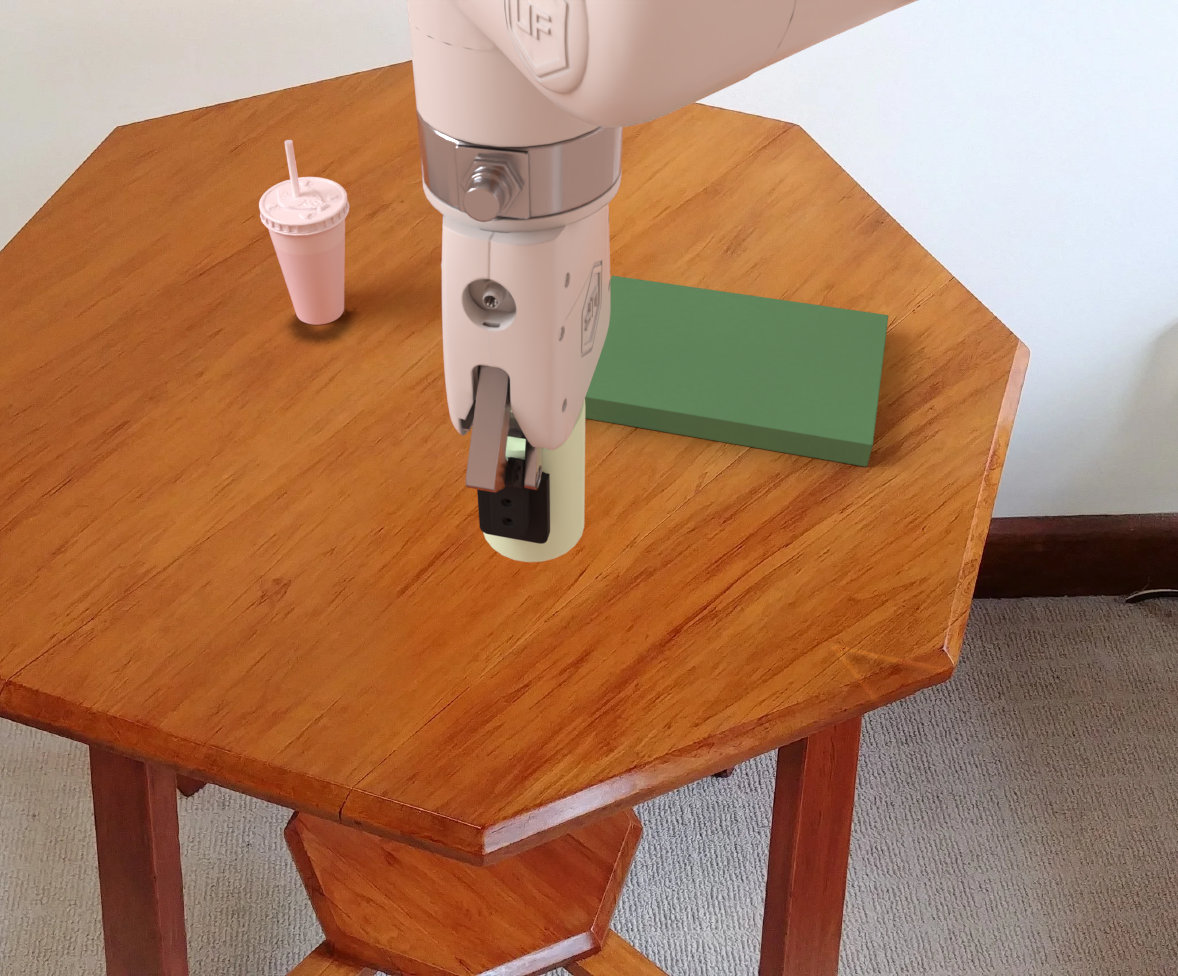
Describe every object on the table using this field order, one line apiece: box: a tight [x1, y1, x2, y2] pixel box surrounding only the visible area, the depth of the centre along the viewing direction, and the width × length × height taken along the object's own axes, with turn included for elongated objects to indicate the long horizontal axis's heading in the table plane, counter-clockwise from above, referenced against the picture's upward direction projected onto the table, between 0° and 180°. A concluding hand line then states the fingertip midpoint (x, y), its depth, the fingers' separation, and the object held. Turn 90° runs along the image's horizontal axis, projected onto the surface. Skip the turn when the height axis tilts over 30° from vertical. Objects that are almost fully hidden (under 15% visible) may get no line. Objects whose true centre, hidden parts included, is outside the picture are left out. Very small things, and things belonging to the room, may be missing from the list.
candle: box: [482, 399, 586, 563], centre depth 58 cm, size 5×5×8 cm
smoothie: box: [258, 139, 350, 326], centre depth 90 cm, size 6×6×14 cm
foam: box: [585, 275, 889, 468], centre depth 86 cm, size 20×14×2 cm
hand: (529, 492), depth 58 cm, fingers closed on candle, 4 cm apart
